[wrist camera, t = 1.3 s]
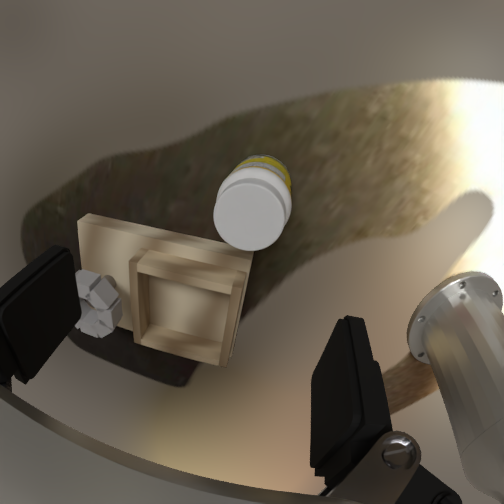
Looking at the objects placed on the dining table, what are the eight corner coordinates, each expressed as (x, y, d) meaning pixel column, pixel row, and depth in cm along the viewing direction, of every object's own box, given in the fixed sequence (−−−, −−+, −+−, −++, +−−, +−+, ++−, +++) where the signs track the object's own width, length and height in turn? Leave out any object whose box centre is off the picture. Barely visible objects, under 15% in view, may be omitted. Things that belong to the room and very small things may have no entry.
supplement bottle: (274, 220, 25) (266, 271, 18) (223, 194, 25) (193, 235, 17) (302, 170, 23) (307, 203, 16) (248, 143, 23) (227, 161, 15)
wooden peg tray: (254, 249, 27) (245, 283, 22) (234, 345, 32) (225, 383, 27) (88, 213, 27) (55, 235, 22) (97, 306, 33) (74, 335, 28)
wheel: (119, 280, 24) (108, 293, 22) (124, 330, 27) (115, 344, 25) (66, 263, 24) (54, 274, 22) (75, 313, 27) (65, 325, 25)
